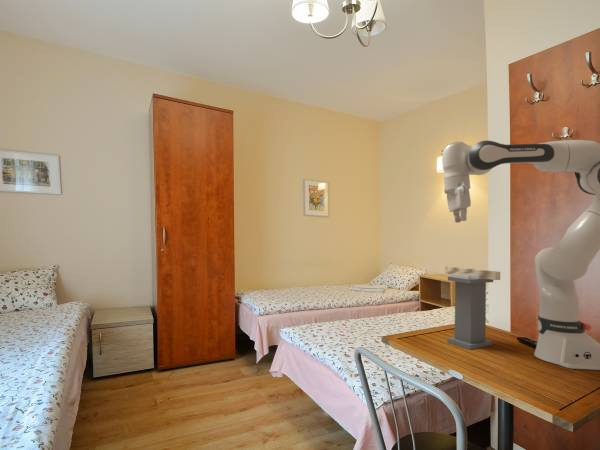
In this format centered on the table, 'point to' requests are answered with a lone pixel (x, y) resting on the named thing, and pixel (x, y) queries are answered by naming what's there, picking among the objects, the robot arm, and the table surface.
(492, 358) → the table surface
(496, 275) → the lath
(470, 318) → the stand
